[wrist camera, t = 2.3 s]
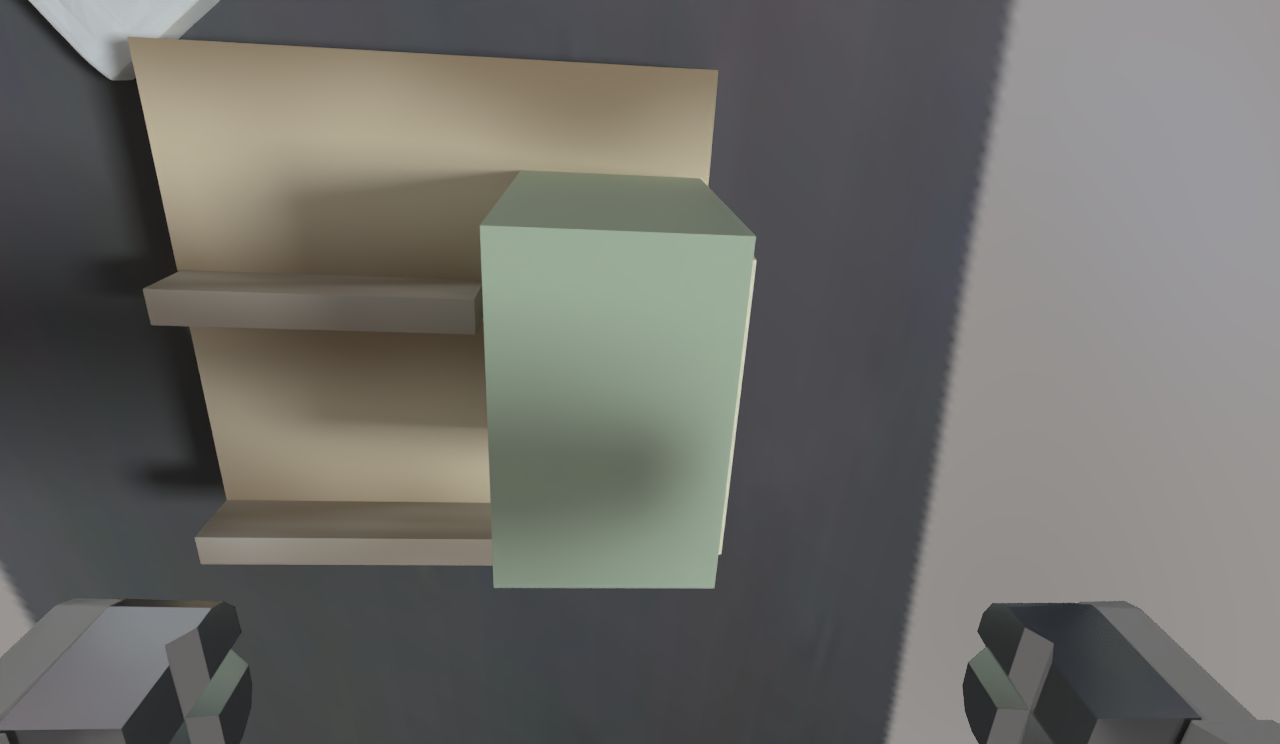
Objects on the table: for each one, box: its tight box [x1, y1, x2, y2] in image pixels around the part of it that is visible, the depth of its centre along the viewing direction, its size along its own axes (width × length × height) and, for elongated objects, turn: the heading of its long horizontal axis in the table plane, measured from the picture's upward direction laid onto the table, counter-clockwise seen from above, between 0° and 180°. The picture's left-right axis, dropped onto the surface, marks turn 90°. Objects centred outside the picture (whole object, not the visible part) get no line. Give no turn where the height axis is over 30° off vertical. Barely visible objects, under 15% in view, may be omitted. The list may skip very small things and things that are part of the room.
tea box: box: [480, 170, 757, 588], centre depth 14 cm, size 4×6×6 cm, turn 177°
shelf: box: [127, 37, 718, 565], centre depth 17 cm, size 12×12×4 cm
